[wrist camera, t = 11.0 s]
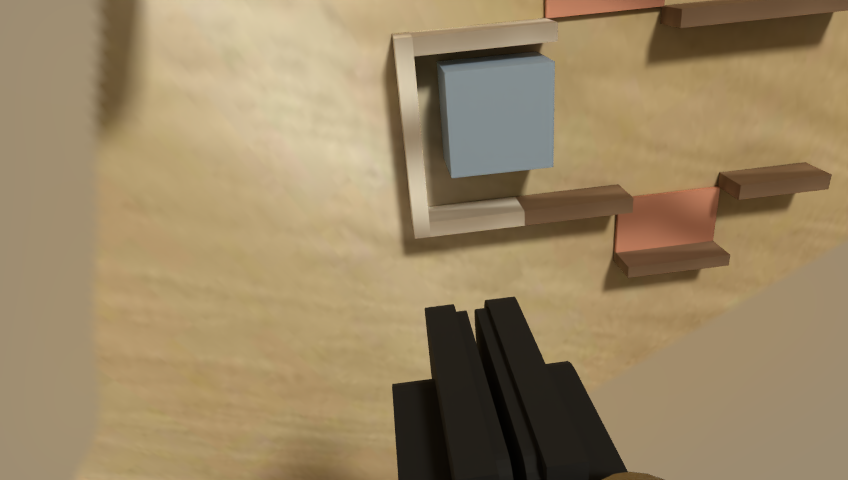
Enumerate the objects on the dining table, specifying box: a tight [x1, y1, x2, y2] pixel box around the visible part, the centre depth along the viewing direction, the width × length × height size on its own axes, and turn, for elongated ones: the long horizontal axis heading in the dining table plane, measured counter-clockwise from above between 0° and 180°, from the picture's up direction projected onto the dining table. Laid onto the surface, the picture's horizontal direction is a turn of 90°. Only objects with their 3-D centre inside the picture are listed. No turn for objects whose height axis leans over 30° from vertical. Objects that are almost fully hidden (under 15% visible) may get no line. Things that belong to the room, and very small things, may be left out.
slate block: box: [437, 51, 555, 178], centre depth 35 cm, size 6×6×4 cm
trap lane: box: [392, 0, 848, 278], centre depth 36 cm, size 22×27×2 cm
